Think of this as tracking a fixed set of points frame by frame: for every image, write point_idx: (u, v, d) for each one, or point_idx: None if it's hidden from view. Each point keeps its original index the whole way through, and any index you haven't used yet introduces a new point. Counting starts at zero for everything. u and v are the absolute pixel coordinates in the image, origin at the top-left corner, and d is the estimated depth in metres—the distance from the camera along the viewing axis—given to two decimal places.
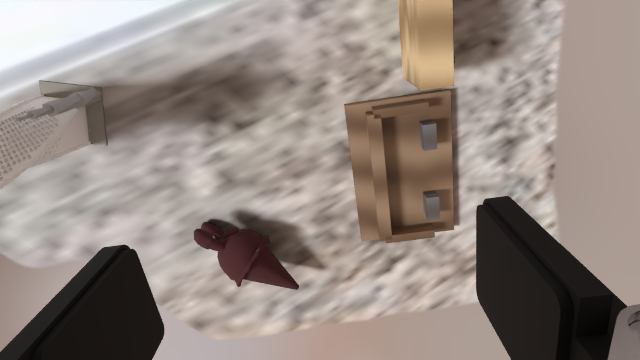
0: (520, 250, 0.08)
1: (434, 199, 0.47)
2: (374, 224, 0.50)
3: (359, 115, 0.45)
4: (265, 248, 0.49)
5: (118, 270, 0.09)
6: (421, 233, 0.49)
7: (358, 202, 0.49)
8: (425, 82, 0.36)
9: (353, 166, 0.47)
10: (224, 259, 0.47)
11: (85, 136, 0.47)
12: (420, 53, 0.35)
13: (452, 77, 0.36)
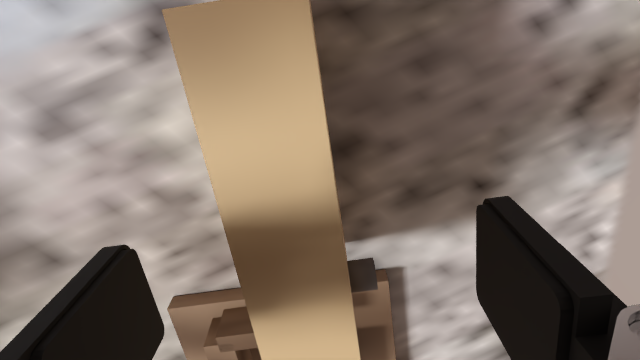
0: (520, 250, 0.08)
1: None
2: None
3: (202, 324, 0.22)
4: None
5: (118, 270, 0.09)
6: None
7: None
8: None
9: None
10: None
11: None
12: (255, 328, 0.11)
13: None
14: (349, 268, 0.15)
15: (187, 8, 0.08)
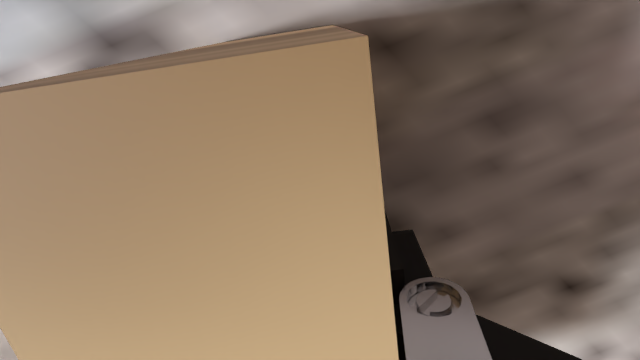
0: None
1: None
2: None
3: None
4: None
5: None
6: None
7: None
8: None
9: None
10: None
11: None
12: None
13: None
14: None
15: None
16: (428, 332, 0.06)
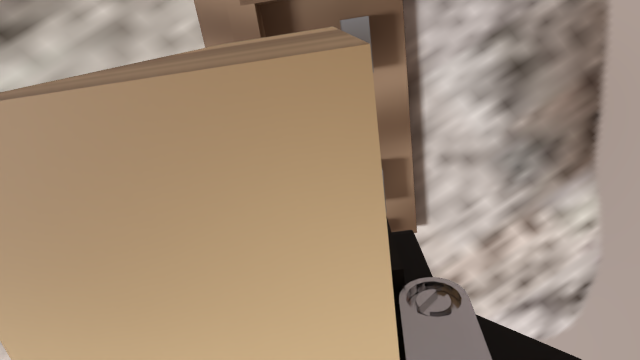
0: None
1: None
2: None
3: (222, 8, 0.23)
4: None
5: None
6: None
7: None
8: None
9: None
10: None
11: None
12: None
13: None
14: None
15: None
16: (428, 332, 0.06)
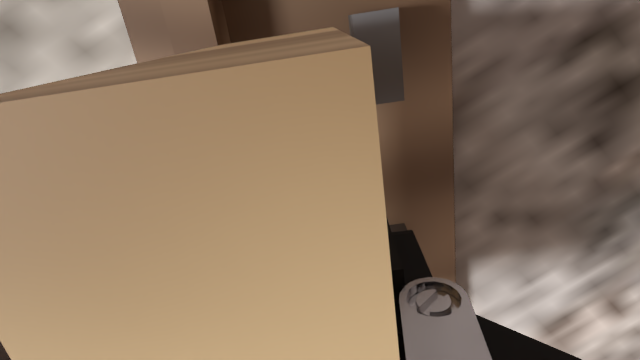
0: None
1: None
2: None
3: None
4: None
5: None
6: None
7: None
8: None
9: None
10: None
11: None
12: None
13: None
14: None
15: None
16: (428, 332, 0.06)
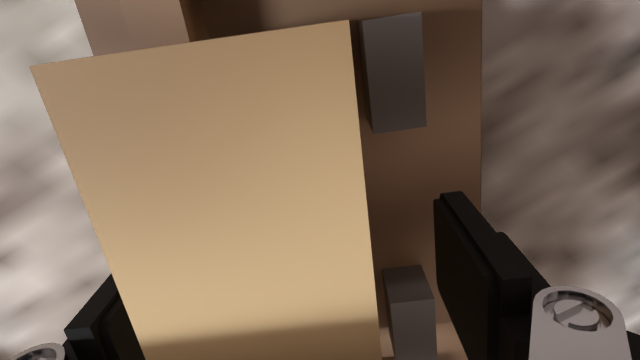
0: (461, 239, 0.08)
1: (419, 308, 0.13)
2: None
3: None
4: None
5: None
6: None
7: None
8: None
9: None
10: None
11: None
12: None
13: None
14: None
15: (84, 63, 0.04)
16: (561, 342, 0.06)
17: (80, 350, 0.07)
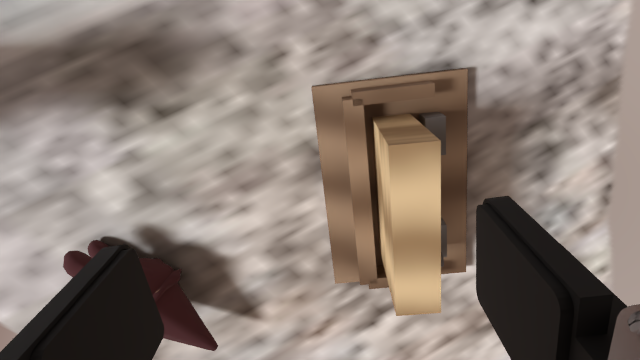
0: (520, 250, 0.08)
1: None
2: (352, 261, 0.36)
3: (333, 102, 0.31)
4: (173, 288, 0.34)
5: (118, 270, 0.09)
6: None
7: (331, 228, 0.35)
8: (402, 306, 0.26)
9: (324, 177, 0.33)
10: None
11: None
12: (395, 273, 0.26)
13: (438, 302, 0.26)
14: None
15: (397, 145, 0.23)
16: None
17: None
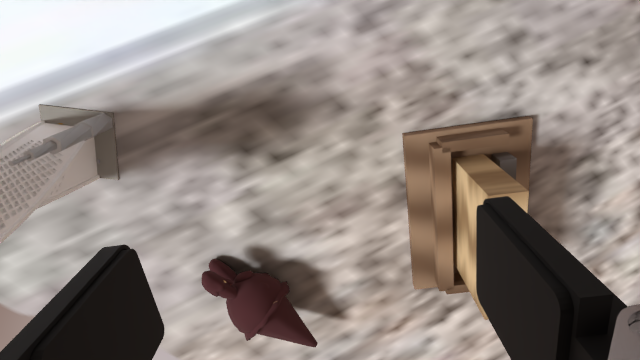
0: (520, 250, 0.08)
1: None
2: (430, 271, 0.43)
3: (421, 147, 0.38)
4: (283, 298, 0.42)
5: (118, 270, 0.09)
6: None
7: (413, 246, 0.42)
8: None
9: (410, 205, 0.40)
10: (235, 310, 0.40)
11: (93, 169, 0.39)
12: None
13: None
14: None
15: (495, 195, 0.30)
16: None
17: None
